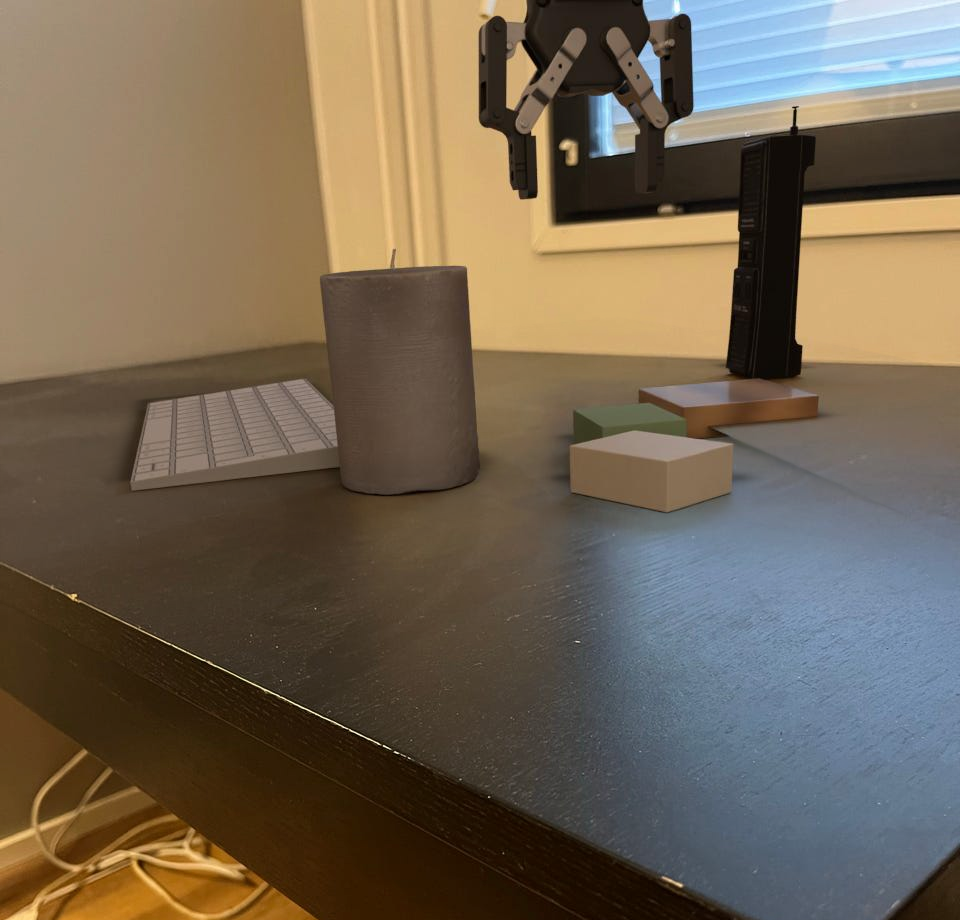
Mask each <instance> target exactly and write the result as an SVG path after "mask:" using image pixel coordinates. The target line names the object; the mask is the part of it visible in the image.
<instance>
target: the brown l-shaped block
mask: <svg viewBox="0 0 960 920" xmlns="http://www.w3.org/2000/svg"><path fill="white" fill-rule="evenodd" d="M819 397H820V396H819V395H818V394H815V393H812V392H808V391H805V390H801V389H798V388H795V387H790V386H787V385H784V384H781V383H780V384H779V383H776V382H773V381H770V380H767V379H759V378H757V379H747V378H745V379H735V380H723V381H712V382H711V381H710V382H699V383H690V384H688V383H687V384H677V385H666V386H655V387H653V386H652V387H643V388H638V404H641V403H651V404H653V405H655V406H658V407H660V408H662V409H664V410H666V411H669V412H671V413H673V414H675V415H678V416H680V417H682V418H684V419H687V436H686V437H687V438H694V439H709V438H721V437H730V435H729V434H727V433H725V432H723V431H720V430H718V429H716V428H713V426H723V425H734V424H743V423H744V424H746V423H756V422H767V421H778V420H788V419H800V418H810V417H818V413H819V401H820V400H819V399H820V398H819Z"/></svg>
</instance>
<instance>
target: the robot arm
mask: <svg viewBox="0 0 960 920" xmlns="http://www.w3.org/2000/svg"><path fill="white" fill-rule="evenodd" d="M525 1H526V3H525V4H526V13H525V18H524V20H523V22H519V21H506V20H505V18H504V17H502V16H501V15H494V16H492V17H491V18H490V19H489V20H487V21H485V23H484V24H482V25H481V27H480V28H479V29H478V122H479V124H480V126H482V127H483V128H485V129H492V130H494V131H497V132H500V133H501V134H503V135H504V136H505V138H506V140H507V141H506V142H507V151H508V172H509V174H508V175H509V177H508V178H509V184H510V187H511V189H512V191H517V194H518V198H519V199H520V200H534V199H537V197H538V193H539V189H538V188H539V184H538V158H537V157H538V153H537V152H538V151H537V135H535V134H534V135H532V130H533V128H534V127H535V125H536V123H537V122H538V121H539V118H540V117H541V115H542V113H543V111H544V110H545V109H546V107H547V106H548V105H549V103H550V102H551V101H552V100H553V98H554V97H555V94H556V95H558V97H559V98H572V97H574V96H577V95H580V94H583V95H587V96H590V97H604V96H606V95H609V94H611V93H612V95H613V96H614V97H615V99H616V101H617V102H618V104H619V105H620V106H621V107H623V108H625V110H626V111H627V113H628V115H629V116H630V117H631V119H632V120H633V122H634V123H635V125H636V126H637V128H638V130H639V133H638V134H635V135H634V190H635V193H636V194H637V195H638V194H649V193H655V192H656V191H657V188H658V183H662V182H663V179H664V176H665V151H666V150H665V149H666V148H665V147H666V145H665V144H666V143H665V142H666V141H665V139H666V137H665V136H666V131H667V129H668V127H669V126H670V125H671V124H673V123H676V122H678V121H679V120H680V121H681V120H682V119H684V118H687V117H689V116H691V115H692V114H693V112H694V108H695V106H694V104H695V103H694V74H693V73H694V72H693V71H694V70H693V69H694V68H693V39H692V37H693V36H692V20H691V18H690V16H689V15H688V14H686V13H679V14H677V15H674V16H672V17H671V18H664V19H653V20H649V18H648V16H647V13H646V10H645V6H644V0H525ZM648 42H649V43H650V44H651V47H652V52H653V54H654V55H655V57H657V58H659V75H660V97H658V95H657V94H656V92H655V90H654V87H655V86H654V83H653V81H652V79H651V77H650V76H649V75H648V72H647V71H646V70H645V68H644V66H643V64H642V63H641V61H640V60H639V57H640V55H641V54H642V52H643V50H644V48H645V46H646V45H647V44H648ZM519 43H520V44H521V46H522V48H523V49H524V51H525V52H526V54H527V56H528V57H529V59H530V60H531V62H532V64H534V67H535V71H534V72H533V74H532V76H531V78H530V79H529V81H528V82H527V85H526V86H525V87H524V90H523V91H522V93H521V94H520V97H519V98H520V99H519V100H518V103H517V104H516V105H515V107H514V109H512V108H509V107H507V89H508V88H507V87H508V86H507V79H508V78H507V77H508V75H507V70H508V68H507V67H508V66H507V65H508V61H509V60H510V59H512V58H513V57H514V56H515V54H516V50H517V46H518V44H519ZM660 99H661V100H660Z"/></svg>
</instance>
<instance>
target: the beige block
mask: <svg viewBox="0 0 960 920" xmlns="http://www.w3.org/2000/svg"><path fill="white" fill-rule="evenodd" d="M733 464H734V444H733V443H731V442H730V443H729V442H722V441H715V440H707V439H702V438H700V439H694V438H687V437H679V436H672V435H665V434H657V433H650V432H643V431H635V430H634V431H630V432H625V433H621V434H617V435H613V436H608V437H604V438H600V439H596V440H592V441H587V442H583V443H579V444H575V445H574V444H571V445H569V476H570V477H569V478H570V479H569V481H570V484H569V485H570V493H572V494H577V495H582V496H587V497H592V498H596V499H601V500H606V501H610V502H614V503H615V502H616V503H620V504H624V505H629V506H634V507H639V508H644V509H649V510H652V511H657V512H662V513H670V512H673V511H677V510H679V509H680V510H681V509H682V508H686V507H689V506H692V505H696V504H699V503H702V502H705V501H709V500H711V499H715V498H717V497H720V496H721V497H722V496H724V495H728V494H730V493H732V491H733V490H732V488H733V486H732V485H733Z"/></svg>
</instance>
